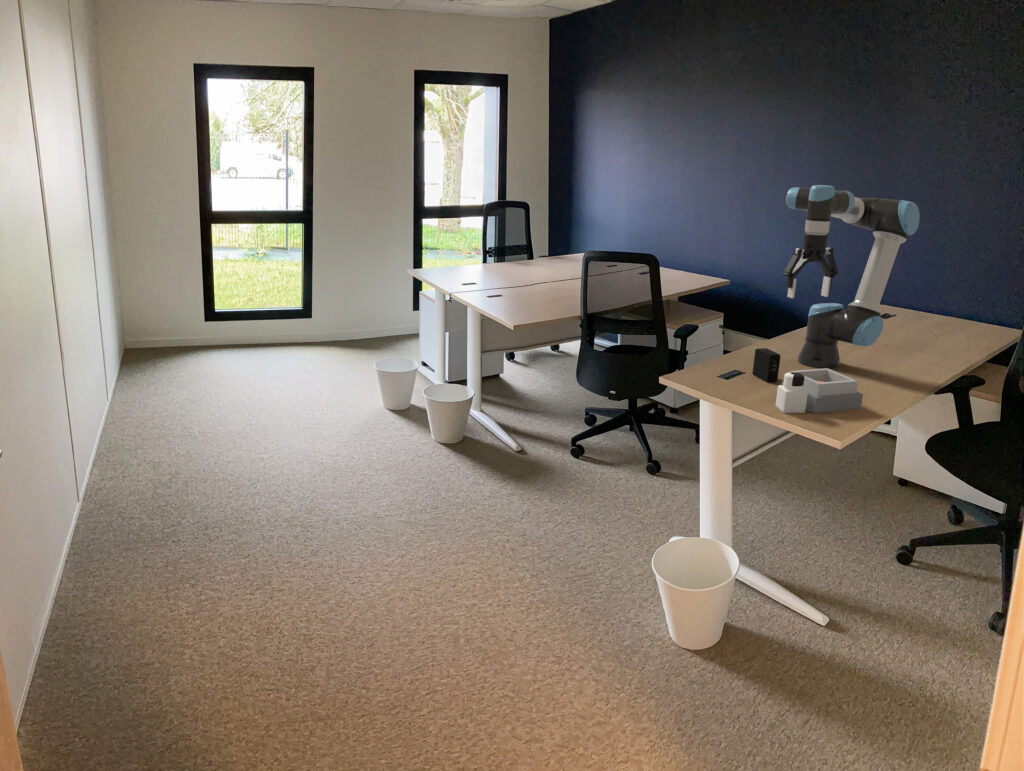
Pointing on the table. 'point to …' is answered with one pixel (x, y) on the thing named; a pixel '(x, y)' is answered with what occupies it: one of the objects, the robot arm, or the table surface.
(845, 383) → the grey open box
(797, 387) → the medicine bottle
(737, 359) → the table surface
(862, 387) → the table surface
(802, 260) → the robot arm
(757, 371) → the electronic device
